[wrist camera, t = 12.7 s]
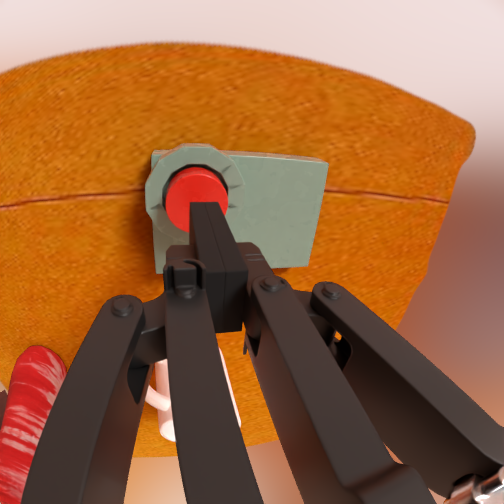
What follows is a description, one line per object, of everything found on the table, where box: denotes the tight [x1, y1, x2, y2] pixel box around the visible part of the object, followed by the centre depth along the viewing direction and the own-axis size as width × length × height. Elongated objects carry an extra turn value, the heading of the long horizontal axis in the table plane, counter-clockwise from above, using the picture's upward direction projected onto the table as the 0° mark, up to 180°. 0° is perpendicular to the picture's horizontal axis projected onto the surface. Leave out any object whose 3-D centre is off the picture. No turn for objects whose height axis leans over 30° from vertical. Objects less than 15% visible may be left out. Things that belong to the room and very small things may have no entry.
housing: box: [145, 143, 329, 274], centre depth 22 cm, size 14×11×4 cm
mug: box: [145, 348, 241, 442], centre depth 27 cm, size 12×8×10 cm
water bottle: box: [0, 346, 67, 504], centre depth 16 cm, size 12×8×25 cm, turn 73°
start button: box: [165, 167, 228, 232], centre depth 18 cm, size 4×4×2 cm
